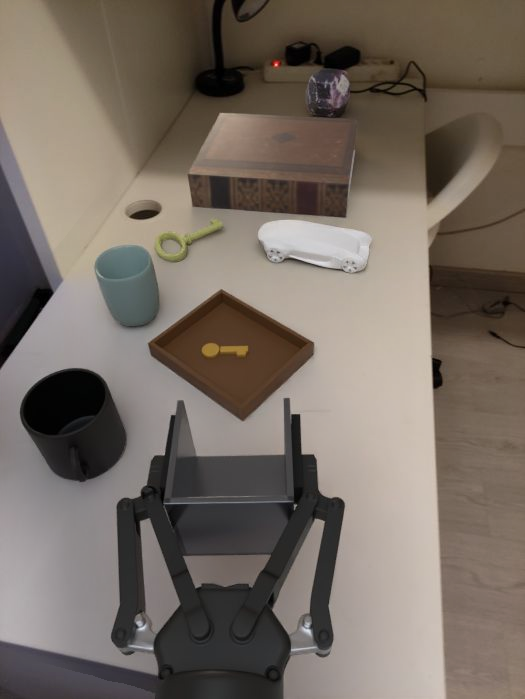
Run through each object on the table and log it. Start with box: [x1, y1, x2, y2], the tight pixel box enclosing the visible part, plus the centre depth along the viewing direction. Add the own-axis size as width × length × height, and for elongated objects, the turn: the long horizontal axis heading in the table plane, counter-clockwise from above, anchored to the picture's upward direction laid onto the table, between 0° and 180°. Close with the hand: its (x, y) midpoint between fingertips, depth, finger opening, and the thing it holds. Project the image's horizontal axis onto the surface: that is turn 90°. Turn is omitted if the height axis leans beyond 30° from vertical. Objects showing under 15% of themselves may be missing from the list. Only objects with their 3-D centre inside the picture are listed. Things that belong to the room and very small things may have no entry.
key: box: [154, 217, 224, 263], centre depth 91 cm, size 7×12×2 cm, turn 137°
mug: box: [19, 367, 127, 483], centre depth 60 cm, size 9×12×9 cm
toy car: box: [257, 219, 373, 274], centre depth 86 cm, size 18×8×4 cm, turn 75°
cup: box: [93, 244, 160, 327], centre depth 76 cm, size 8×8×10 cm
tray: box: [147, 288, 315, 422], centre depth 72 cm, size 17×14×2 cm
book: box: [187, 112, 359, 218], centre depth 102 cm, size 24×28×6 cm
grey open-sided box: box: [163, 397, 295, 557], centre depth 43 cm, size 9×9×9 cm
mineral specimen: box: [305, 67, 351, 118], centre depth 119 cm, size 10×10×10 cm
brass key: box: [202, 343, 248, 358], centre depth 73 cm, size 6×2×1 cm, turn 90°
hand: (236, 424), depth 45 cm, fingers closed on grey open-sided box, 9 cm apart
